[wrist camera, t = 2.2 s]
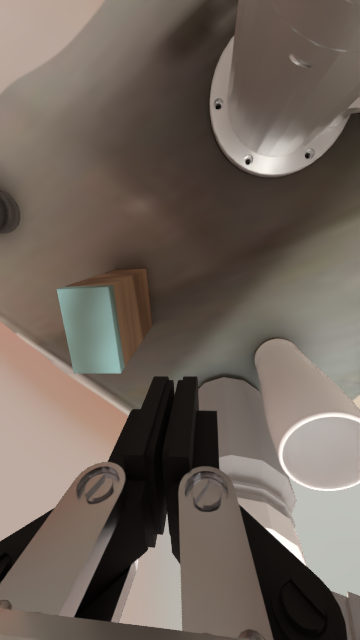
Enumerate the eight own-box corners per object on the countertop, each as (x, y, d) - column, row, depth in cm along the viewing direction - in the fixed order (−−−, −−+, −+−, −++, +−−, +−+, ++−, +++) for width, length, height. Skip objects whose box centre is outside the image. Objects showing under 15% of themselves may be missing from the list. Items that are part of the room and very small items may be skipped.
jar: (244, 445, 36) (274, 631, 19) (179, 418, 36) (151, 582, 19) (278, 390, 33) (351, 554, 16) (207, 361, 33) (204, 495, 16)
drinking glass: (314, 340, 30) (406, 431, 16) (291, 388, 33) (354, 504, 18) (259, 324, 31) (301, 399, 16) (239, 372, 33) (262, 476, 18)
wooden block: (146, 268, 30) (108, 286, 19) (152, 325, 32) (120, 373, 21) (113, 270, 30) (56, 289, 19) (121, 326, 33) (74, 373, 21)
